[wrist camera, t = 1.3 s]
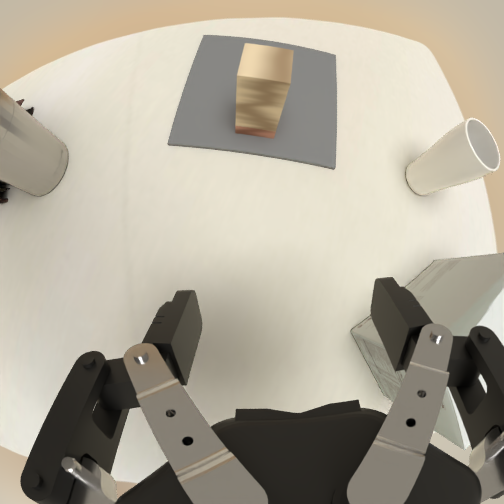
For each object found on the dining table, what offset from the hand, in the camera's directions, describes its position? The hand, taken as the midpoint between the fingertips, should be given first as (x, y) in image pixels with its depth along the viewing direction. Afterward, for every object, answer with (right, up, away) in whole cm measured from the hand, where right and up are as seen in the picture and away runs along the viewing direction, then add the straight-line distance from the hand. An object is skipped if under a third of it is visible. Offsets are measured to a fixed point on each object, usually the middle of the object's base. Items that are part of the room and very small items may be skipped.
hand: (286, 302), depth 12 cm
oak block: (-1, +20, +22) cm, 30 cm away
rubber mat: (0, +26, +23) cm, 35 cm away
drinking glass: (+23, +13, +24) cm, 36 cm away
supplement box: (+21, -9, +22) cm, 32 cm away
